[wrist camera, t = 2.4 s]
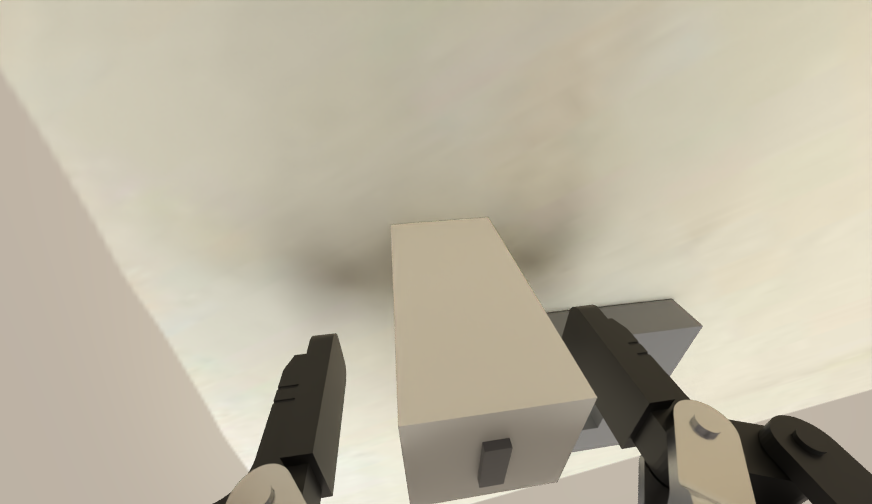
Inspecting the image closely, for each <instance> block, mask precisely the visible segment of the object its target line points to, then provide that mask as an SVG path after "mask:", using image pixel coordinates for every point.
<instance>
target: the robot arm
mask: <svg viewBox="0 0 872 504" xmlns="http://www.w3.org/2000/svg"><path fill="white" fill-rule="evenodd" d="M562 340H563V342H564V343H565V345H566V347H567V348H568V350H569V351H570V353H571V355H572V356H573V358H574V360H575V361H576V363H577V365H578V366H579V368H580V370H581V371H582V373H583V375H584V376H585V378H586V380H587V381H588V383H589V385H590V386H591V388H592V389H593V391H594V393H595V394H596V396H597V399H596V401H595V405H596V407H597V408H598V410H599V412H600V413H601V415H602V417H603V418H604V420H605V422H606V423H607V425H608V427H609V428H610V430H611V432H612V433H613V435H614V437H615V438H616V440H617V442H618V443H619V445H620V447H621V448H622V449H624V448H630V447H637V448H638V450H639V452H640V453H641V456H640V458H639V483H638V484H639V485H638V504H802V503H803V502H805V501H806V500H808V499H809V501H810V502H811V503H812V504H872V474H871V473H870V472H868V471H867V470H866V469H865V468H864V467H863V466H862V465H861V464H860V463H858V462H857V461H856V460H855V459H854V458H853V457H852V456H851V455H850V454H849V453H848V452H846V451H845V450H844V449H843V448H842V447H841V446H840V445H839V444H838V443H837V442H835V441H834V440H833V439H832V438H831V437H830V436H828V435H827V434H826V433H824V432H823V431H821V430H820V429H818V428H817V427H815V426H813V425H811V424H810V423H807V422H805V421H803V420H801V419H798V418H795V417H791V416H785V415H779V416H775V417H773V418H772V419H771V420H770V421H769V422H768V423H767V424H766V425H765V426H763V425H757V424H751V423H746V422H740V421H734V420H729V419H727V418H726V417H725V416H724V415H723V414H721V413H720V412H719V411H717V410H716V409H714V408H712V407H711V406H709V405H707V404H704V403H702V402H699V401H695V400H690V399H689V398H688V397H687V396H686V395H685V393H684V392H683V391H682V390H681V389H680V388H679V387H678V386H677V384H676V383H675V382H674V381H673V380H672V379H671V378H670V376H669V375H668V374H667V373H666V372H665V371H664V370H663V368H662V367H661V366H660V365H659V364H658V363H657V362H656V361H655V359H654V358H653V357H652V356H651V355H649V354H648V351H647V350H646V349H645V348H644V347H643V346H642V345H641V344H639V342H638V340H637V339H636V338H635V337H634V336H633V334H632V333H631V332H630V331H629V330H628V329H627V328H626V327H624V326H623V325H621V324H620V323H618V322H617V321H616V320H614V319H613V318H609V319H608V318H607V317H606V316H605V315H604V314H603V312H602V311H601V310H600V309H599V308H598V307H597V306H595V305H587V306H579V307H572V308H571V309H570V311H569V314H568V318H567V321H566V324H565V328H564V331H563V335H562ZM345 386H346V366H345V361H344V357H343V354H342V350H341V346H340V343H339V339H338V336H337V334H336V333H335V334H326V335H317V336H312V337H311V339H310V342H309V346H308V350H307V354H301V355H295V356H294V357H293V358H292V360H291V361H290V362H289V364H288V365H287V366H286V367H285V369H284V370H283V373H282V376H281V379H280V383H279V386H278V390H277V392H276V395H275V398H274V404H273V405H272V408H271V411H270V414H269V417H268V420H267V424H266V427H265V430H264V433H263V436H262V439H261V442H260V446H259V449H258V452H257V455H256V458H255V461H254V463H253V465H252V467H251V469H250V471H249V473H248V474H247V475H246V476H245V477H243V478H242V480H240V482H239V483H238V484H237V485H236V486H235V488H234V489H233V490H232V492H231V493H229V494H228V495H227V496H225V497H224V498H223V499H221V500H219V501H217V502H216V503H213V504H320V501H321V498H324V497H330V496H333V489H334V481H335V472H336V463H337V455H338V446H339V437H340V429H341V420H342V412H343V403H344V394H345Z"/></svg>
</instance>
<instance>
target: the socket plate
mask: <svg viewBox="0 0 872 504" xmlns="http://www.w3.org/2000/svg"><path fill="white" fill-rule="evenodd" d="M599 309H600V310H601V311H602V312H603V314H604V315H605V316H606V317H607V318H608V319H609V318H613V319H614V320H616V321H617V322H618V323H620V324H621V325H623V326H624V327H626V328H627V329H628V330H629V331H630V332H631V333H632V334H633V336H634V337H635V338H636V339H637V340H638V342H639V344H641V345H642V346H643V347H644V348H645V349H646V350H647V351H648V354H649V355H651V356H652V357H653V358H654V359H655V361H656V362H657V363H658V364H659V365H660V366H661V367H662V368H663V370H664V371H665V372H666V373H667V374H668V375H669V376H670V375H671V374H672V372H673V371H674V369H675V368H676V366H677V365H678V363H679V361H680V360H681V358H682V357H683V355H684V354H685V352H686V351H687V349H688V348H689V346H690V345H691V343H692V342H693V340H694V339H695V337H696V336H697V334H698V333H699V331H700V329H701V328H702V325H701V324H700V323H699V322H698V321H697V320H696V319H694V318H693V317H692V316H691V315H690V314H689V313H688V312H687V311H685V310H684V309H683V308H682V307H681V306H680V305H679V304H677V303H676V302H675V301H674V300H673V299H669V300H661V301H652V302H643V303H634V304H625V305H616V306H608V307H599ZM568 314H569V311H563V312H555V313H547V315H548V317H549V318H550V320H551V322H552V323H553V325H554V327H555V328H556V330H557V332H558V333H559V335H560V337H561V338H562V335H563V331H564V328H565V324H566V321H567V318H568ZM613 445H619V443H618V442H617V440H616V438H615V437H614V435H613V433H612V432H611V430H610V428H609V427H608V425H607V423H606V422H605V420H604V418H603V417H602V415H601V413H600V412H599V410H598V408H597V407H596V405H595V404H594V406H593V408H592V410H591V412H590V414H589V416H588V418H587V421H586V423H585V425H584V427H583V429H582V431H581V433H580V435H579V437H578V440H577V442H576V444H575V446H574V448H573V450H572V452H577V451H583V450H589V449H595V448H601V447H607V446H613Z"/></svg>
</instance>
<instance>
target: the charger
mask: <svg viewBox="0 0 872 504" xmlns="http://www.w3.org/2000/svg"><path fill="white" fill-rule="evenodd" d="M391 246H392V273H393V300H394V327H395V354H396V381H397V408H398V429H399V435H400V442H401V448H402V455H403V461H404V468H405V474H406V481H407V487H408V494H409V500H410V504H434V503H440V502H446V501H452V500H457V499H463V498H469V497H474V496H480V495H486V494H492V493H497V492H503V491H509V490H515V489H520V488H526V487H532V486H537V485H543V484H549V483H555V482H558V480H559V478H560V476H561V473H562V471H563V469H564V467H565V465H566V463H567V461H568V459H569V456H570V454H571V452H572V450H573V448H574V446H575V444H576V442H577V440H578V437H579V435H580V433H581V431H582V429H583V427H584V425H585V423H586V421H587V418H588V416H589V414H590V412H591V410H592V408H593V406H594V404H595V401H596V399H597V396H596V394H595V393H594V391H593V389H592V388H591V386H590V385H589V383H588V381H587V380H586V378H585V376H584V375H583V373H582V371H581V370H580V368H579V366H578V365H577V363H576V361H575V360H574V358H573V356H572V355H571V353H570V351H569V350H568V348H567V347H566V345H565V343H564V342H563V340H562V338H561V337H560V335H559V333H558V332H557V330H556V328H555V327H554V325H553V323H552V322H551V320H550V318H549V317H548V315H547V313H546V312H545V310H544V308H543V307H542V305H541V304H540V302H539V300H538V299H537V297H536V295H535V294H534V292H533V290H532V289H531V287H530V285H529V284H528V282H527V280H526V279H525V277H524V275H523V274H522V272H521V270H520V269H519V267H518V266H517V264H516V262H515V261H514V259H513V257H512V256H511V254H510V252H509V251H508V249H507V247H506V246H505V244H504V242H503V241H502V239H501V237H500V236H499V234H498V232H497V231H496V229H495V228H494V226H493V224H492V223H491V221H490V219H489V218H488V217H483V218H470V219H457V220H444V221H431V222H418V223H405V224H392V225H391Z"/></svg>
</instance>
